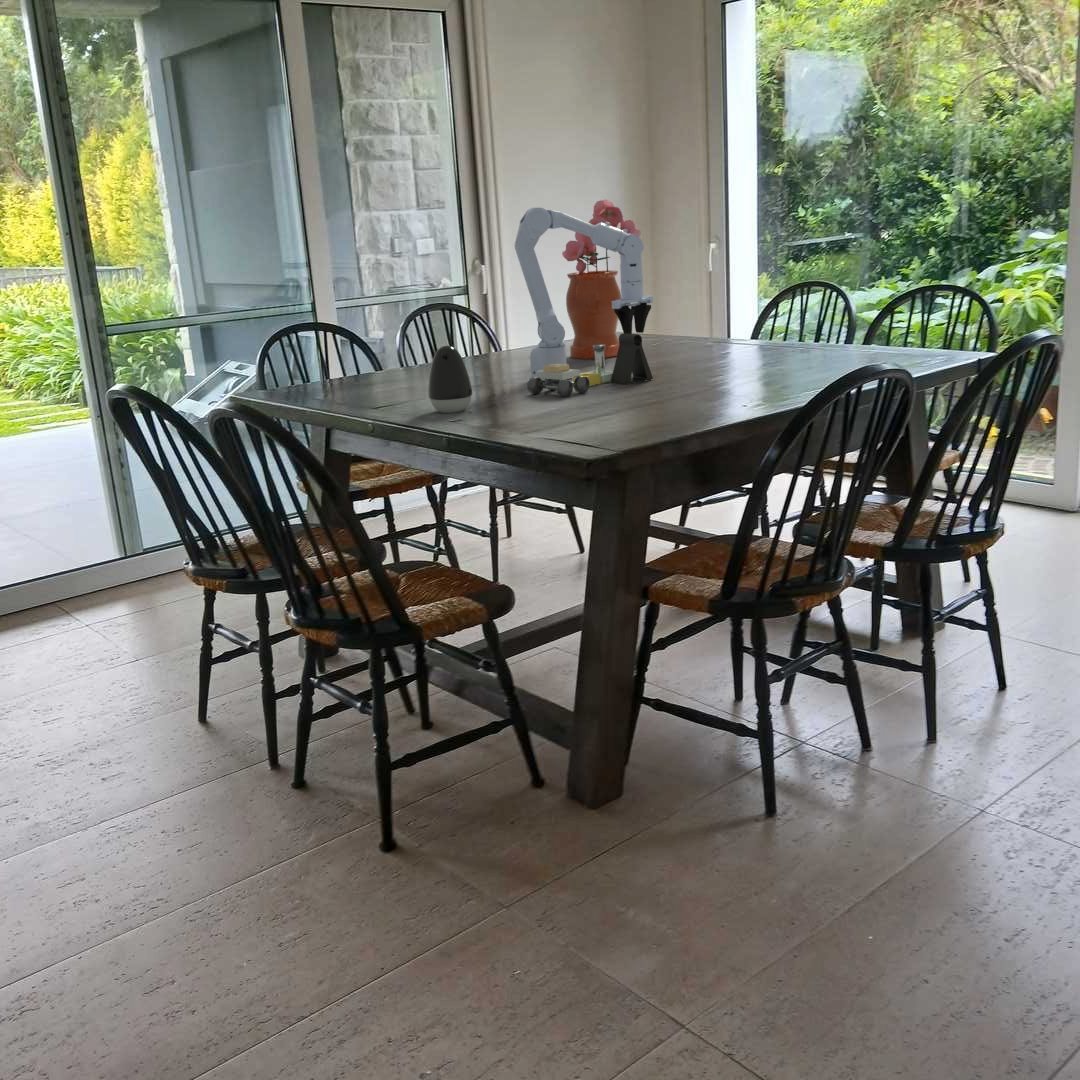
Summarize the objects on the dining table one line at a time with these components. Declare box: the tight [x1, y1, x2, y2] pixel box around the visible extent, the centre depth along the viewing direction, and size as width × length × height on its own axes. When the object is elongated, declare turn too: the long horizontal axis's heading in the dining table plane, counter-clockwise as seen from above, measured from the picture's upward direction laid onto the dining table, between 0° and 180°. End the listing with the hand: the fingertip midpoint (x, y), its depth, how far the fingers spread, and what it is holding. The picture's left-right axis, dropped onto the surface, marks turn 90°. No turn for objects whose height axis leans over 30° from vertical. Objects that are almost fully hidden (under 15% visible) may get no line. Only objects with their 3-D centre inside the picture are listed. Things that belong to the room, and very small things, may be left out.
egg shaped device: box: [427, 345, 473, 414], centre depth 258 cm, size 10×10×15 cm
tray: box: [585, 369, 613, 384], centre depth 290 cm, size 8×7×2 cm
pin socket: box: [572, 372, 602, 387], centre depth 285 cm, size 5×5×2 cm
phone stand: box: [610, 333, 654, 385], centre depth 285 cm, size 9×6×12 cm, turn 122°
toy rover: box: [527, 363, 590, 398], centre depth 274 cm, size 12×10×7 cm
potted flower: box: [561, 199, 642, 360], centre depth 331 cm, size 19×25×45 cm
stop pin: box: [593, 345, 606, 375], centre depth 288 cm, size 3×3×9 cm
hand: (633, 333), depth 296 cm, fingers open, 4 cm apart
